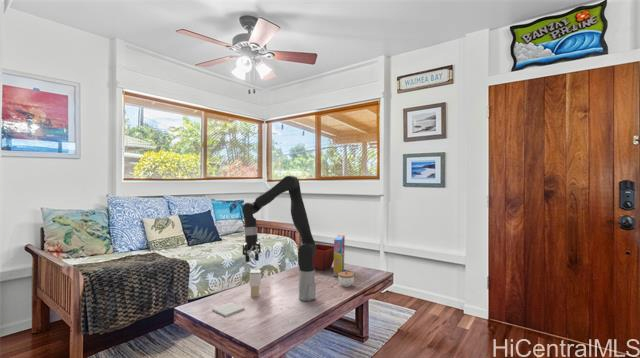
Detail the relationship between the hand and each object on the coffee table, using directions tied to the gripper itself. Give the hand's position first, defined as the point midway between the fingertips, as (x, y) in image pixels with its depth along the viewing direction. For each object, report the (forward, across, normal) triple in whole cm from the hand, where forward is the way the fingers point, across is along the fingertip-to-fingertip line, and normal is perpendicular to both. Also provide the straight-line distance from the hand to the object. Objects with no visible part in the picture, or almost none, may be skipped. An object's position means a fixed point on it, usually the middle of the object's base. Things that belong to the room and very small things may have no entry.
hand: (252, 261), depth 190 cm
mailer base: (+20, +2, +1) cm, 20 cm away
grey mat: (+23, -22, -1) cm, 32 cm away
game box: (+18, +70, -25) cm, 77 cm away
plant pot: (+14, +73, -8) cm, 75 cm away
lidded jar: (+23, +47, -41) cm, 66 cm away
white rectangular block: (+14, +1, 0) cm, 14 cm away
